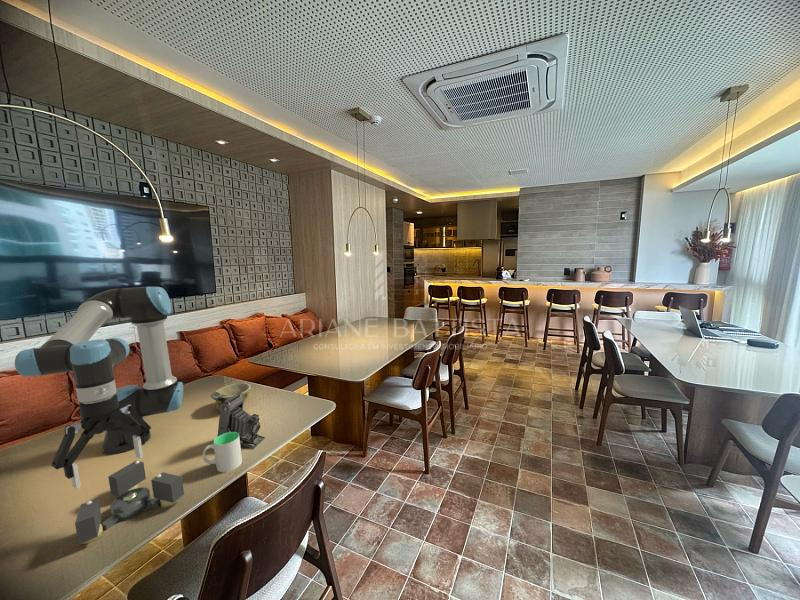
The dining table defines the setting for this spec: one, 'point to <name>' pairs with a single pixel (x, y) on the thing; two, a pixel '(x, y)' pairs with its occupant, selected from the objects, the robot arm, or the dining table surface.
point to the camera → (239, 421)
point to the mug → (226, 452)
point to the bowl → (230, 392)
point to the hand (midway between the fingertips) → (110, 470)
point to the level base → (130, 505)
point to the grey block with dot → (127, 478)
